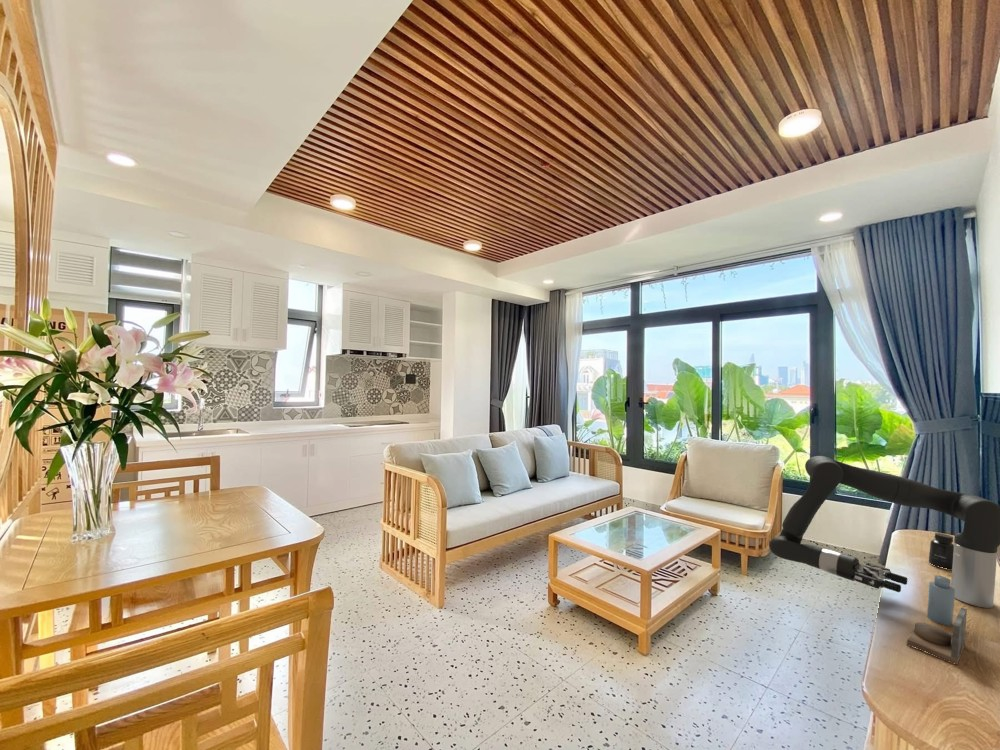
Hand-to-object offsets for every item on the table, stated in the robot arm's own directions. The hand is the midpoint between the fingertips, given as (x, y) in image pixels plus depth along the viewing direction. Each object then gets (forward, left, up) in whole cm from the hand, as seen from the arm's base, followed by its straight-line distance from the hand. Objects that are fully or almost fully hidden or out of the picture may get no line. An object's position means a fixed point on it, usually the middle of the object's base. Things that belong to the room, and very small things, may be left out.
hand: (904, 585), depth 131 cm
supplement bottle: (-54, +2, -7) cm, 54 cm away
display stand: (+18, +10, -7) cm, 22 cm away
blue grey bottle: (0, +8, -7) cm, 10 cm away
